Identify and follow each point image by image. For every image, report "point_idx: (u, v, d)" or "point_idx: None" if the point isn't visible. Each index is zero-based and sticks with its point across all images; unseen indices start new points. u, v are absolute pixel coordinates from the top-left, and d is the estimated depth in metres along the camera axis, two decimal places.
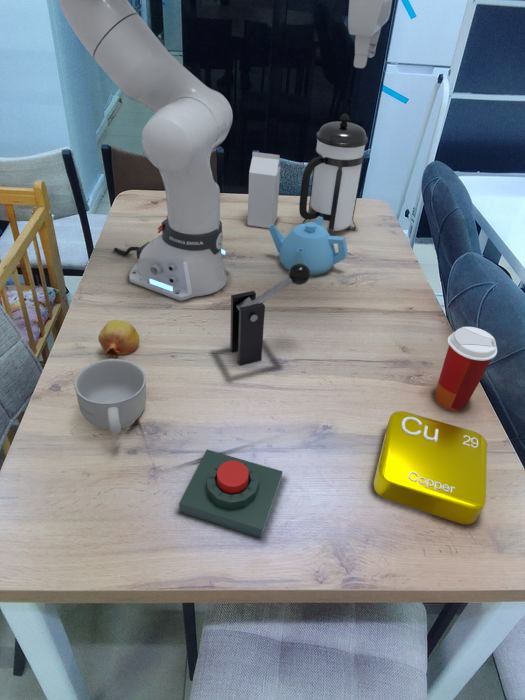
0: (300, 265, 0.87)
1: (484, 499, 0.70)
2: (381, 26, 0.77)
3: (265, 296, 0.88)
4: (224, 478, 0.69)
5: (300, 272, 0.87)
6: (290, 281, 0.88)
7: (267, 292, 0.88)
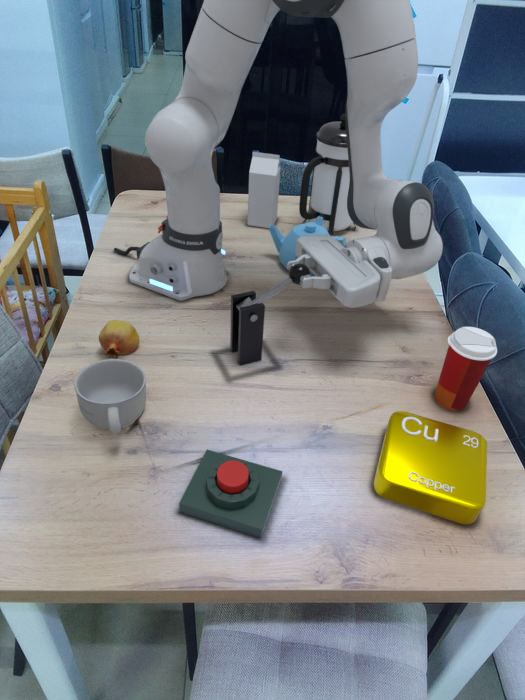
0: (300, 265, 0.87)
1: (484, 499, 0.70)
2: None
3: (265, 296, 0.88)
4: (224, 478, 0.69)
5: (300, 272, 0.87)
6: (290, 281, 0.88)
7: (267, 292, 0.88)
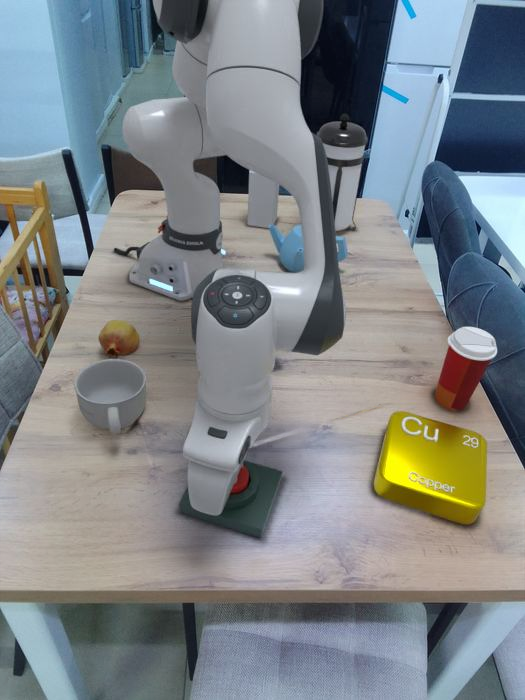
0: None
1: (484, 499, 0.70)
2: (246, 454, 0.67)
3: None
4: None
5: None
6: None
7: None
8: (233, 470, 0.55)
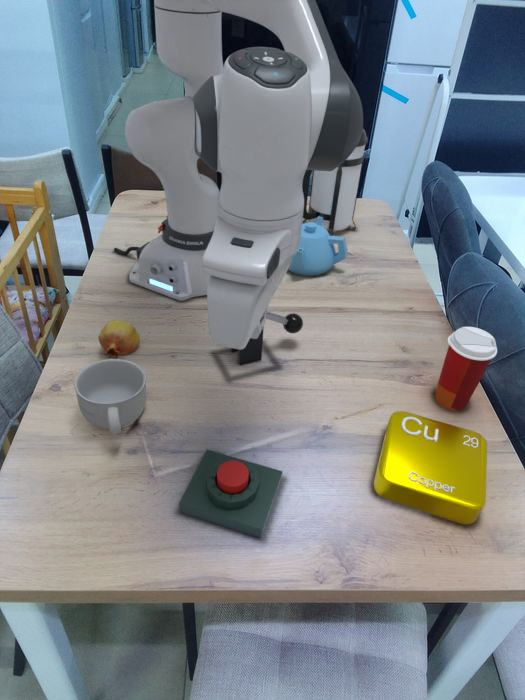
0: None
1: (484, 499, 0.70)
2: (270, 300, 0.59)
3: (266, 313, 0.91)
4: (224, 478, 0.69)
5: (299, 321, 0.94)
6: (286, 321, 0.94)
7: (268, 312, 0.91)
8: (261, 281, 0.47)
